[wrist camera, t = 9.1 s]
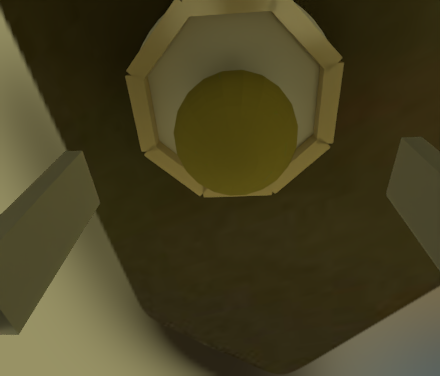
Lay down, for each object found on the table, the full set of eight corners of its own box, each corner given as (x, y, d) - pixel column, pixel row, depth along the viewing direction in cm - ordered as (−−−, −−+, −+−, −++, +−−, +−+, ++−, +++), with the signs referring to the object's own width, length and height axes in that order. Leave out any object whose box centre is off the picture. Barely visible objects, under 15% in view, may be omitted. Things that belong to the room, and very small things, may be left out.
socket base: (113, -6, 20) (102, -7, 18) (350, -25, 19) (361, -27, 17) (154, 189, 28) (148, 202, 26) (323, 183, 27) (329, 196, 25)
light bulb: (272, 146, 24) (293, 226, 16) (187, 138, 24) (163, 214, 16) (289, 55, 21) (328, 96, 12) (190, 45, 21) (161, 80, 12)
